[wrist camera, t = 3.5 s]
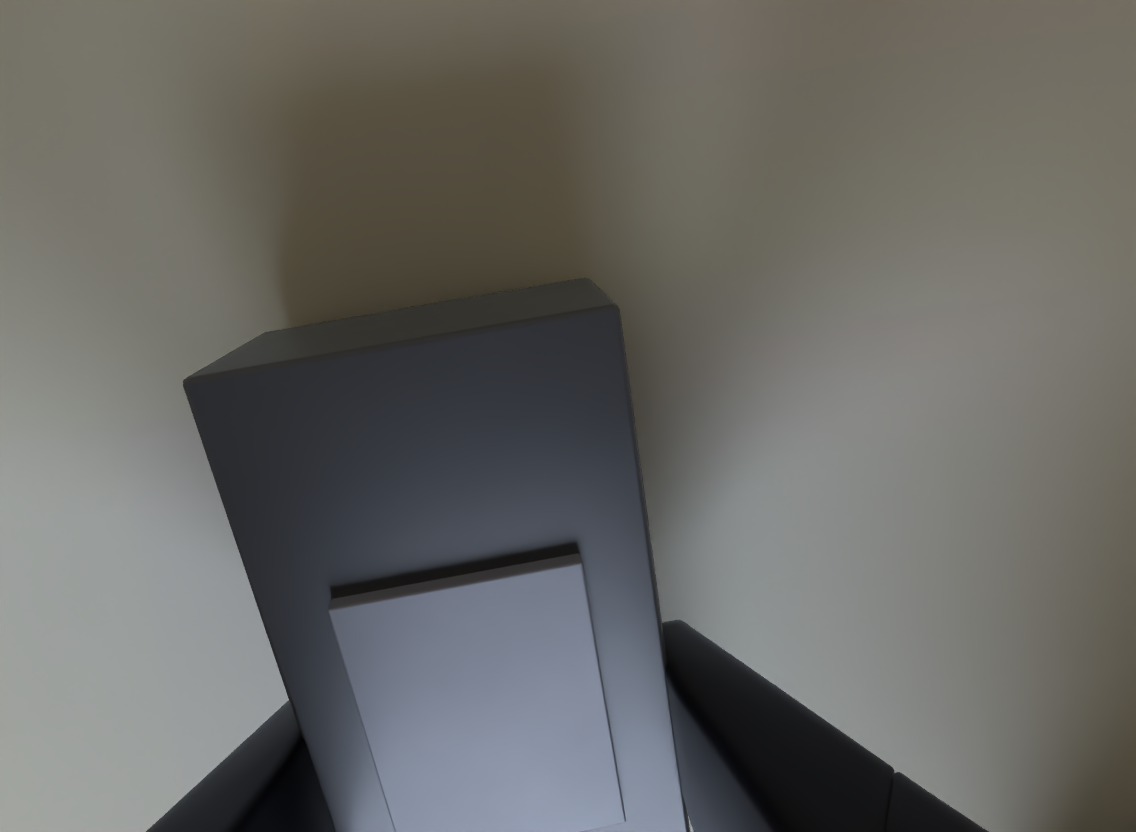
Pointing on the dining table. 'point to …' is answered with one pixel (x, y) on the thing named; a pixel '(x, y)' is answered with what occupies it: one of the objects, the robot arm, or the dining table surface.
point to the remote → (455, 561)
